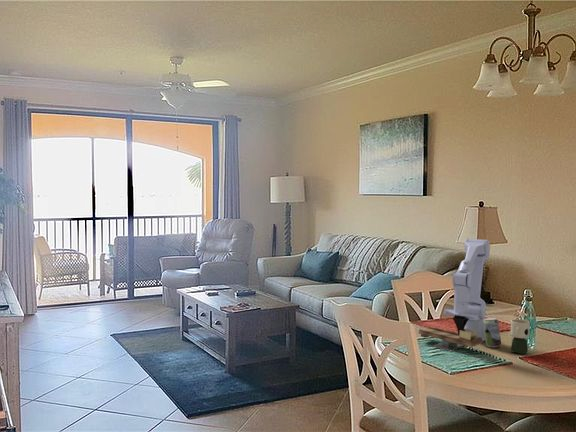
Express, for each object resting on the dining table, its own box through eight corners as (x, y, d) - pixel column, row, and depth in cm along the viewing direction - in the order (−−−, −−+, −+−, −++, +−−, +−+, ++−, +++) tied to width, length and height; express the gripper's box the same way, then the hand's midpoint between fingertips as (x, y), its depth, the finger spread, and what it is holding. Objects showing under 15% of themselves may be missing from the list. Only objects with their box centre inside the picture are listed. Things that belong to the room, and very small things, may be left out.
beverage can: (498, 349, 230) (499, 321, 230) (480, 346, 235) (481, 318, 234) (503, 346, 235) (504, 318, 235) (485, 343, 240) (486, 315, 239)
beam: (482, 346, 228) (483, 336, 228) (471, 350, 223) (471, 340, 222) (430, 333, 247) (430, 324, 247) (418, 336, 241) (418, 327, 241)
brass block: (476, 340, 228) (477, 330, 228) (470, 342, 225) (470, 333, 225) (465, 337, 232) (466, 328, 232) (459, 339, 229) (459, 330, 228)
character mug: (526, 357, 220) (527, 325, 219) (507, 354, 224) (507, 322, 223) (531, 350, 229) (532, 319, 229) (512, 348, 233) (513, 317, 232)
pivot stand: (466, 345, 236) (466, 338, 236) (449, 351, 228) (449, 344, 227) (449, 341, 242) (449, 334, 242) (432, 347, 234) (432, 340, 233)
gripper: (440, 300, 233) (439, 332, 234) (472, 305, 222) (471, 339, 223) (449, 297, 238) (449, 329, 238) (481, 303, 227) (480, 336, 228)
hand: (460, 334), depth 231 cm, fingers closed
